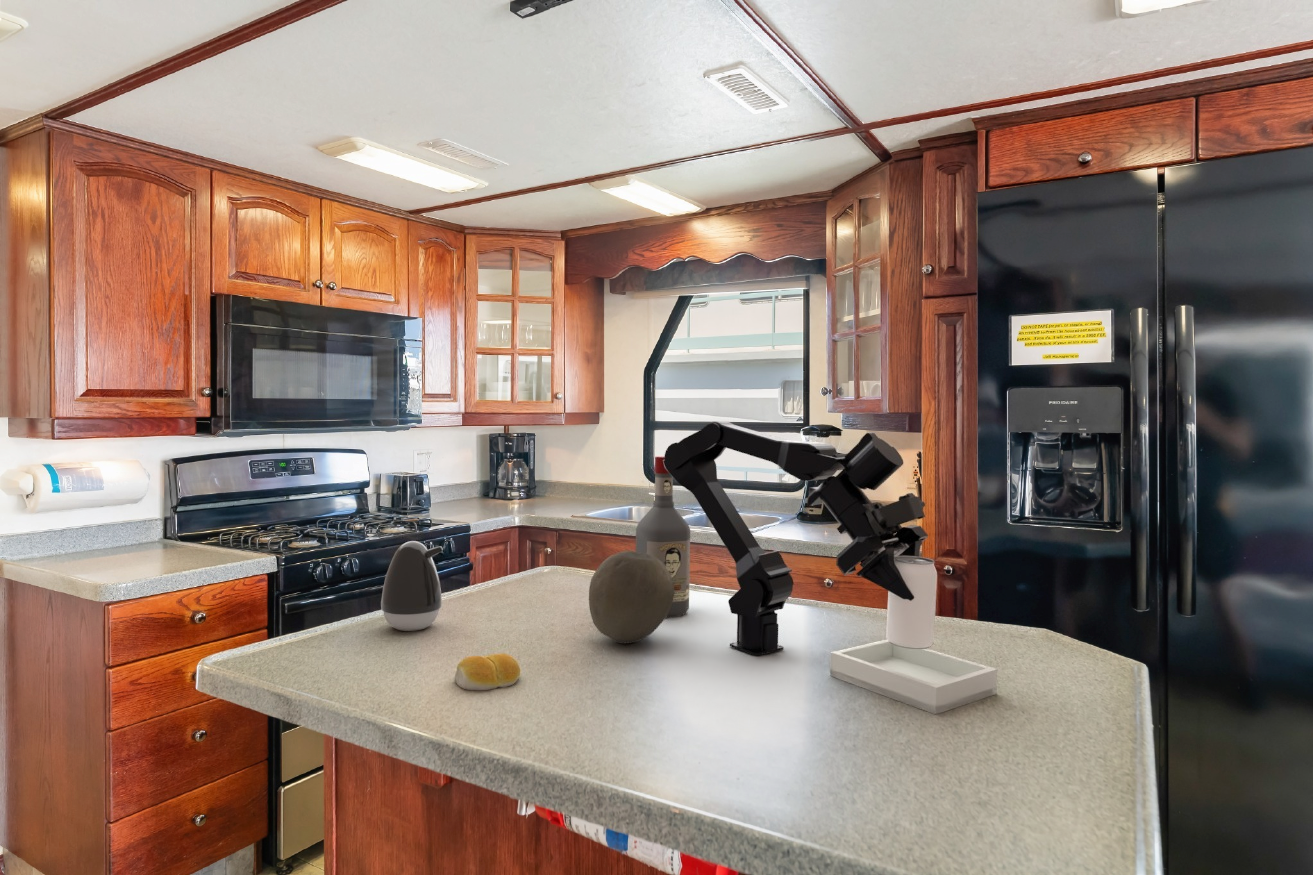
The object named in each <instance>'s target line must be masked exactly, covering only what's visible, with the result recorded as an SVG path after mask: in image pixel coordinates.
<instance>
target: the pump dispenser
mask: <svg viewBox="0 0 1313 875" xmlns="http://www.w3.org/2000/svg"><path fill="white" fill-rule="evenodd" d="M443 550H444V549H443V547H442V546H440V545H439V546H436V547H433V548H430V549H428V548H427V547H426V546H425V545H424V544H423V543H421V542H420V541H416V540H411V541H409V540H408V541H407V542H405V543H403V544H401V545H400V546H399V547H398V549H397V550H396V551H395V553H394V554H393V557H392V559H391V562H390V564H389V565H388V566H389V567H388V569H387V572H386V574H385V578H384V581H383V582H384V584H383V587H382V595H381V601H380V607H381V608H380V609H381V611H383V616H384V618H385V621H386V623H388V624H389V625H390V627H392V628H394V629H395V630H398V631H403V632H415V631H421V630H423V629H424V630H425V629H427V628H428V627H429V626H431V625H432V624H434V622H435V621H436V619H437V617H438V616H439V612H440V609H441V607H442V604H443V598H442V590H441V589H442V587H441V582H440V577H439V574H438V571H437V567H436V564H435V561H434V560H433V557H434V556H436V555H438V554H439V553H443Z"/></svg>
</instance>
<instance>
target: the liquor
mask: <svg viewBox="0 0 1313 875" xmlns="http://www.w3.org/2000/svg"><path fill="white" fill-rule="evenodd" d="M664 457H665V456H654V474H655V478H654V479H655V480H654V500H653V502H652V505H653V506H652V507H651V508H650V509H649V511H648V512H646V514H645V515H644V516H643V517H642V518H641V519H640V520H639V521H638V523H637V526H636V528H635V552H641V553H647V554H650V555H652V556H654V557H656V558H657V559H658V560H660V561H661V562H662V563H663V564H664V565H665V567H666V568H667V569H668V571H669V573H670V574H671V577H672V579H673V583H674V598H673V602H672V605H671V608H670V610H669V613H668V615H667V616H666V618H673V617H683V616H685V615H686V614H687V613H688V611H689V609H690V573H691V572H690V570H691V569H690V568H691V566H690V565H691V529H690V525H689V523H688V522H687V521H686V519H684V518H683V516H682V515H681V514H680V512H679V511H678V510H677V509H676V507H675V503H674V498H673V496H674V494H673V493H674V491H673V490H674V489H673V487H674V486H673V485H674V481H673V480H674V478H673V477H672V476H671V475H670V474H669V472H668V471H667V470H666V468H665V466H664V462H663V460H664Z"/></svg>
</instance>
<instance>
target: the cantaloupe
mask: <svg viewBox="0 0 1313 875" xmlns="http://www.w3.org/2000/svg"><path fill="white" fill-rule="evenodd" d="M673 598H674V583H673V579H672V577H671V574H670V573H669V571H668V569H667V568H666V567H665V565H664V564H663V563H662V562H661V561H660V560H658V559H657V558H656V557H654V556H652V555H650V554H647V553H641V552H636V550H624V551H620V552H617V553H615V554H612V555H610V556H609V557H607V558H605V559H604V560H603V561H602V562H601V563H600V564H599V566H598V567H597V569H595V572H594V573H593V575H592V577H591V579H590V583H589V589H588V604H589V605H588V606H589V607H588V608H589V612H590V616H591V619H592V623H593V625H594V626H595V628H596V629H597V631H599V632H600V633H601V635H603V636H605V637H607V638H608V639H611V640H613V641H615V642H616V643H619V644H629V643H635V642H638V641H641V640H644V639H645V638H646V637H648V636H649V635H651V634H652V633H654V631H656V630H657V629H658V628H659V626H661V624H662V623H663V622H664V621H665V619H666V618H667V617H666V616H667V615H668V613H669V610H670V608H671V605H672V602H673Z"/></svg>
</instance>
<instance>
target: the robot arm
mask: <svg viewBox="0 0 1313 875" xmlns="http://www.w3.org/2000/svg"><path fill="white" fill-rule="evenodd" d="M726 449H729V450H732V451H736V452H737V453H738V452H739V453H742V454H746V455H748V456H751V457H755V458H758V459H761V460H764V461H767V462H771V463H772V464H775V465H777V466H778V467H779V469H782V471H784V473H787V474H789V475H791V476H792V477H793V478H796V479H798V480H800V481H804V482H809V481H816V480H824V481H823V482H821V483H820V485H818V486H813V487H809V488H808V497H807V505H808V506H815V505H822V503H823V504H824V506H825V507H826V508H827V510H828V511H829V512H830V513H831V515H832V516H833V517H834V519H835V520H836V522H838V523H839V526H838V527H837V528H836V530H837V531H838V533H839V534H841V535H843V534H847V536H848V537H849V538H850V540H851V542H850V543H849V544H847V546H846V547H845V548H843V549H842V550H841V551H840V552H839V553H838V554H837V555H836V563H835V564H836V567H837V568H838V570H840V572H841V573H842V574H843V575H844V576H847V575H851V574H854V573H855V572H856V571H857V568H856V566H858V564H859V565H860V567H861V569H860V570H859V571H858V572H856V574H855V575H856V577H860V578H861V577H862V578H864V579H865V580H867V581H869V582H871V583H873V584H876V585H877V586H879V587H881V588H883V589H885V590H886V591H890V592H892V593H893V594H895V595H897V596H899V597H900V598H902V599H908V600H910V601H911V600H913V599H914V596H913V594H912V593H911V591H910V590H909V588H908V587H907V585H906V583H905V582H904V580H903V578H902V576H901V574H900V572H899V570H898V568H897V567H896V565H895V563H894V557H895V556H917V557H920V551H921V546H923V541H925V540H926V539H927V538H928V537H929V535H928V533H927V532H926V531H925V530H924V529H923V527H922V526H921V525H915V524H911V525H905V526H902V524H905V523H908V522H910V521H914V520H916V519H917V520H921V519H924V518H926V514H925V512H924V508H925V506H926V503H925V502H924V501H922V499H921V497H920V496H918V495H917V496H916V495H915V494H914V493H913V492H910V493H909V492H908V493H906V494H905V495H900V496H898V500H897V501H893V502H891V503H889V504H886V505H883V504H882V503H881V502H877V501H876V502H872V501H871V499H870V498H869V497H868V496H867V495H866V494H865V492H864V491H865V490H871V491H876V490H877V489H879V488H880V487H881V486H882V484H884V483H885V482H886V481H887V480H888V479H889V478H890V477H891V476H893V474H894V473H895V472H897V471H898V470H899V469H900V468H902V466H904V460H903V457H902V456H901V454H900V452H899V451H898V450H897V449H896V448H895V447H894V446H891V445H890V444H889V443H888V442H886V441H885V440H884V439H882V438H880V437H878V436H877V434H876V433H875V432H866V433H865V434H864V435H863V436H862V437H861V438H860V439H859V441H858V443H856V445H855V446H853V448H851V450H850V451H848V453H845V452H840V451H837V449H836V447H835V446H833V445H832V444H831V443H827V442H822V441H821V442H820V441H819V442H817V441H807V440H805V441H803V440H790V439H789V440H787V439H784V438H781V437H778V436H773V435H771V434H767V433H763V432H760V431H757V430H753V429H750V428H747V427H742V426H739V425H736V424H733V423H732V422H729V421H712V422H710V423H709V424H707V425H705V426H704V427H702V428H701V429H700V430H698V431H696V432H694V433H692V434H690V435H688V436H686V437H684V438H683V439H681V440H679V441H678V442H673V443H671V444H670V445H668V447H667V448H666V450H665V452H664V456H663V457H664V460H663V462H664V466H665V468H666V470H667V471H668V472H669V474H670V475H671V476H672V477H673V480H674V481H676V483H677V484H679V485H680V486H682V487H683V488H684V489H686V490H687V491H689V492H690V493H691V494H692V495H693V497H694V498H695V500H696V501H697V502H698V504H699V506H700V507H701V509H702V511H703V512H704V513H705V516H706V518H708V520H709V522H710V524H711V525H712V526H713V529H714V530H715V531H716V533H717V535H718V537H719V538H720V540H721V541H722V543H723V545H724V547H725V548H726V550H727V551H728V552H729V555H730V556H731V557H732V559H733V561H734V563H735V570H736V571H735V572H736V582H737V583H738V586H739V588H740V589H739V590H737V591H736V593H734V594H733V595H732V596H731V597H730V598H729V599H728V606H729V610H730V613H731V614H734V615H736V616H737V618H736V619H737V620H736V623H737V625H736V626H737V627H736V641H732V642H730V643H729V647H732V648H734V649H736V650H738V651H742V652H745V653H748V654H750V655H751V656H752V655H753V656H760V655H764V654H765V655H766V654H769V653H774V652H778V651H779V652H780V651H783V650H784V646H783V645H780V644H779V623H778V613H777V612H775V611H778V610H783V609H784V606H785V603H786V601H787V600H788V599H789V598H790V596H791V595H792V593H793V588H794V587H793V585H794V584H795V582H794V579H793V577H792V575H791V573H792V572H793V571H792V569H791V568H789V567H788V565H787V564H786V562H785V561H784V558H783V557H782V555H781V553H780V552H779V551H778V550H775V551H769V552H768V551H765V550H764V549H763V548H762V547H761V546H760V544H759V543H758V541H757V539H756V538H755V536H754V534H753V533H752V532H751V530H750V529H749V527H748V526H747V523H746V522H745V520H744V519H743V518H742V516H741V514H740V513H739V511H738V510H737V508H736V507H735V506H734V504H733V502H732V500H731V499H730V497H729V496H728V495H727V493H726V491H725V489H724V488H723V486H722V485H721V483H720V482H719V480H718V473H717V472H718V471H717V464H716V460H717V459H718V458H719V457H721V456H722V455H723V453H724V451H726ZM837 471H840V472H838V474H837V475H835V474H836V473H837ZM834 475H835V476H834ZM863 490H864V491H863Z"/></svg>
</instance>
